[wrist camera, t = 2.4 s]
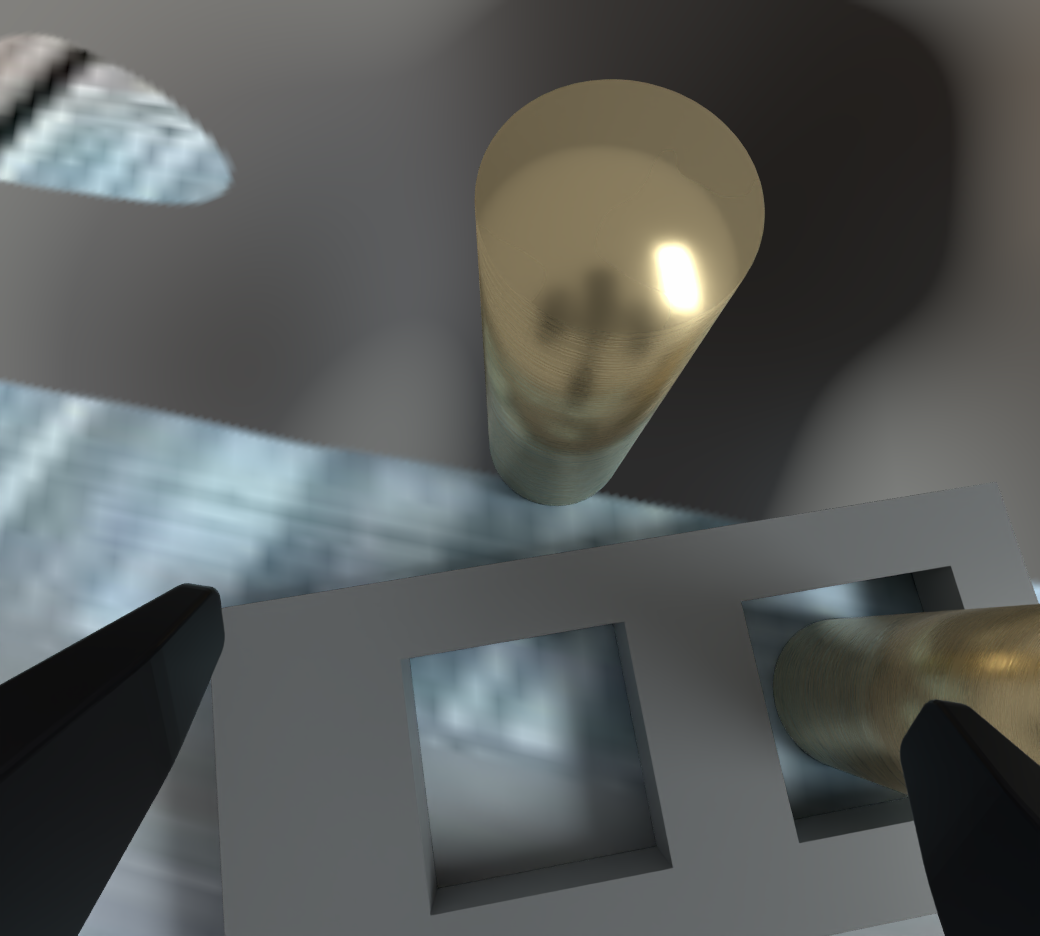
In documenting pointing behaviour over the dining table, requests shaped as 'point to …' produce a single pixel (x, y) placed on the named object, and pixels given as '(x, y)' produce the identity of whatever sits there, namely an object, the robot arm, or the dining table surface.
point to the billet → (907, 682)
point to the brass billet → (601, 271)
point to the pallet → (656, 720)
